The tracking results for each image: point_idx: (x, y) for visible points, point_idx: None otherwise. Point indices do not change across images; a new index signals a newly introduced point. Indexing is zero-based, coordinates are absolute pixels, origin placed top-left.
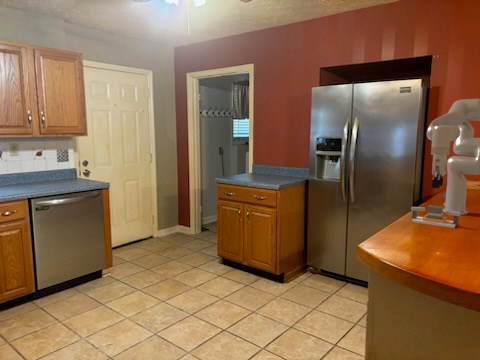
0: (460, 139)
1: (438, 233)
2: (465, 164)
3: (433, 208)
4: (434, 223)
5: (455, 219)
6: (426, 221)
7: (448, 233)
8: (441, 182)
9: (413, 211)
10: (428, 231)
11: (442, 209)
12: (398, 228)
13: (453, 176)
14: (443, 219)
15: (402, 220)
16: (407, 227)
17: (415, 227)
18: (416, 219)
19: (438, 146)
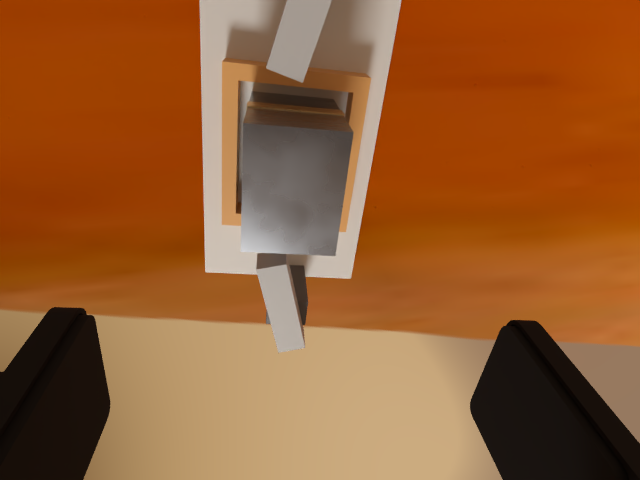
0: None
1: (610, 98)
2: None
3: (341, 204)
4: (374, 141)
5: None
6: (353, 197)
7: (594, 29)
8: (62, 386)
9: (305, 314)
10: (571, 160)
11: (286, 120)
12: (545, 304)
13: None
14: (333, 83)
15: (325, 318)
16: (504, 272)
17: (487, 236)
18: (322, 259)
19: None
